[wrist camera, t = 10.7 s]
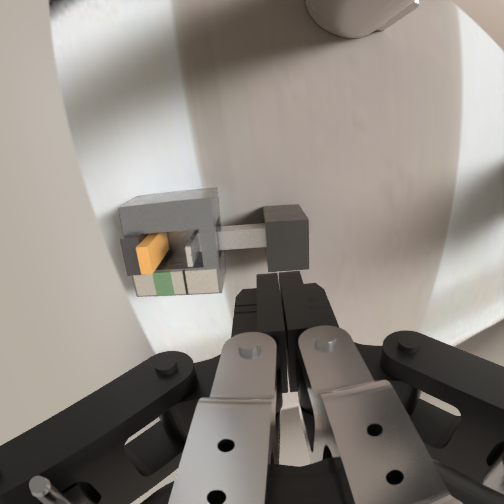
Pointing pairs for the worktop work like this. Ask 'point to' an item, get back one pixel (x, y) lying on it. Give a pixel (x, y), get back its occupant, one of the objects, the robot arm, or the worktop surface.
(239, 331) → the robot arm
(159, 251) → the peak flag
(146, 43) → the worktop surface
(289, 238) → the dark cube on shaft
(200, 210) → the gauge housing
